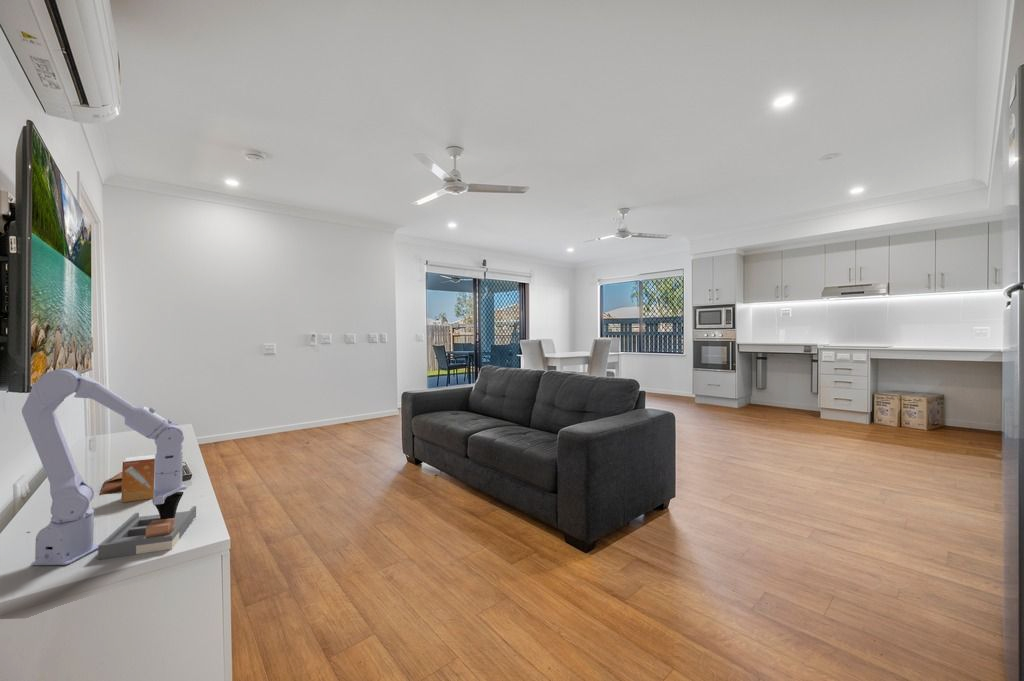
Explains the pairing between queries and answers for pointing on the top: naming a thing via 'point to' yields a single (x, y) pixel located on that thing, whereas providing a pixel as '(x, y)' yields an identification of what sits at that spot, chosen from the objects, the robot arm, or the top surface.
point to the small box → (138, 478)
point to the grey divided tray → (143, 536)
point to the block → (160, 528)
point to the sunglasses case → (113, 485)
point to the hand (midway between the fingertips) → (167, 522)
